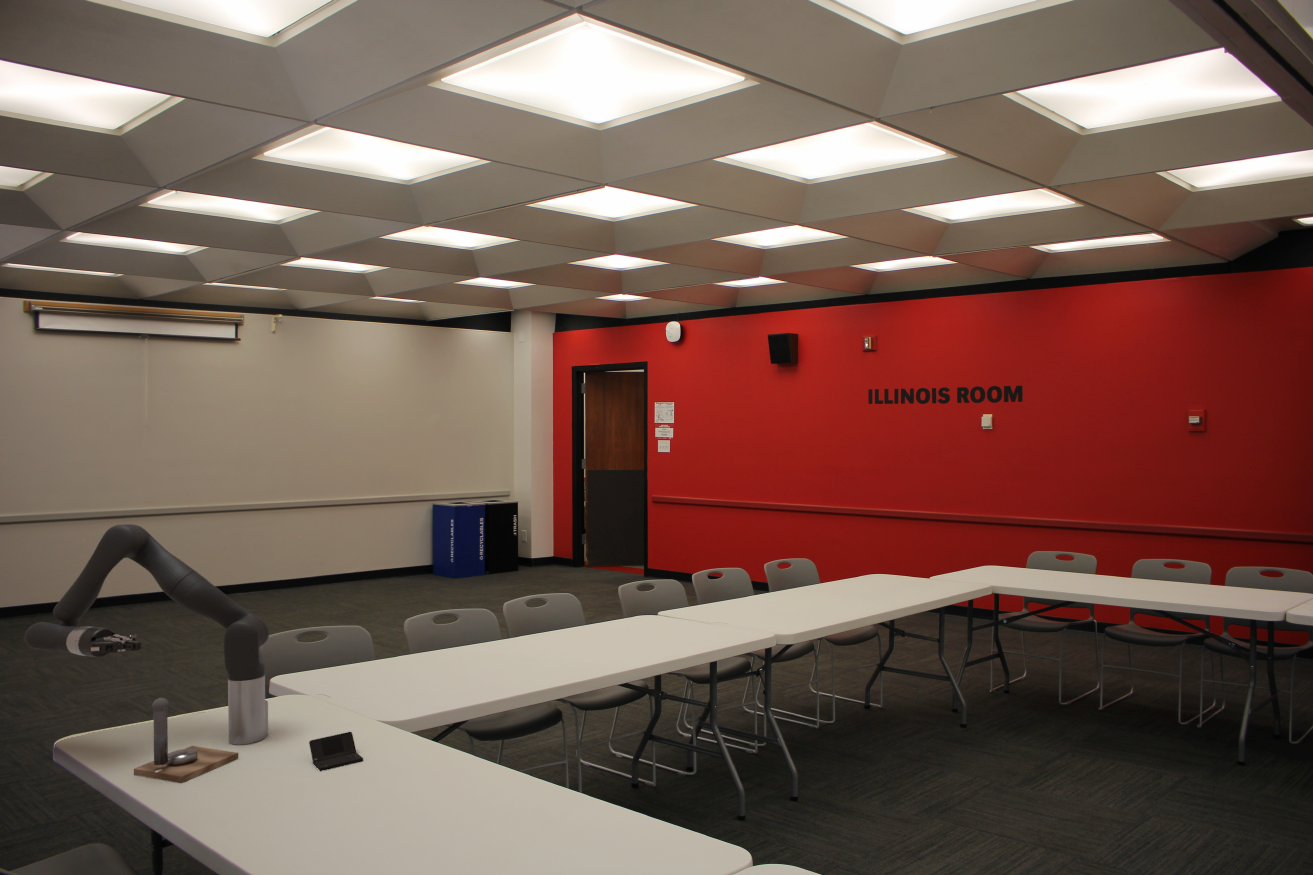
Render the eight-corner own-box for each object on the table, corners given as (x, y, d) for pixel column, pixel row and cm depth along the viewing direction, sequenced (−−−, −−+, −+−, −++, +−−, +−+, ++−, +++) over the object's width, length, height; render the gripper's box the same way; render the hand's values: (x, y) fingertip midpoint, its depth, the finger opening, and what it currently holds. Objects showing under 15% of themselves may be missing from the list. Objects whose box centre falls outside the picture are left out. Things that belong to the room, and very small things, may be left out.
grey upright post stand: (185, 752, 223) (185, 686, 223) (203, 756, 220) (203, 690, 220) (144, 767, 214) (144, 698, 214) (163, 771, 211) (162, 701, 211)
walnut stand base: (192, 751, 230) (192, 744, 230) (238, 758, 224) (238, 751, 224) (133, 774, 214) (133, 767, 214) (181, 782, 209) (181, 775, 209)
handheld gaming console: (324, 767, 214) (317, 728, 219) (311, 779, 217) (305, 741, 222) (367, 760, 222) (359, 724, 227) (354, 773, 225) (347, 736, 230)
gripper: (66, 632, 222) (114, 637, 216) (114, 622, 234) (161, 626, 228) (66, 661, 222) (114, 667, 216) (114, 649, 234) (161, 654, 228)
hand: (138, 646), depth 222 cm, fingers closed
